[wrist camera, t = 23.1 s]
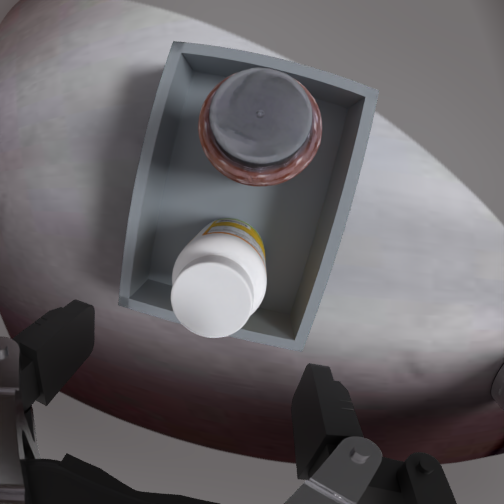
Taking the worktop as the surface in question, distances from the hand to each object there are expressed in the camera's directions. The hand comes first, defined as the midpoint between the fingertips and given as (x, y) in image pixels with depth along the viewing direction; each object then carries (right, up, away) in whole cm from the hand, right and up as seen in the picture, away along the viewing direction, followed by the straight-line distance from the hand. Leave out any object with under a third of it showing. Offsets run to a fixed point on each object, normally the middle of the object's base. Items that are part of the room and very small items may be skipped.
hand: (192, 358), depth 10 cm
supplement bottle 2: (0, +4, +14) cm, 14 cm away
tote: (+1, +8, +13) cm, 16 cm away
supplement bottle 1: (+3, +12, +12) cm, 17 cm away
